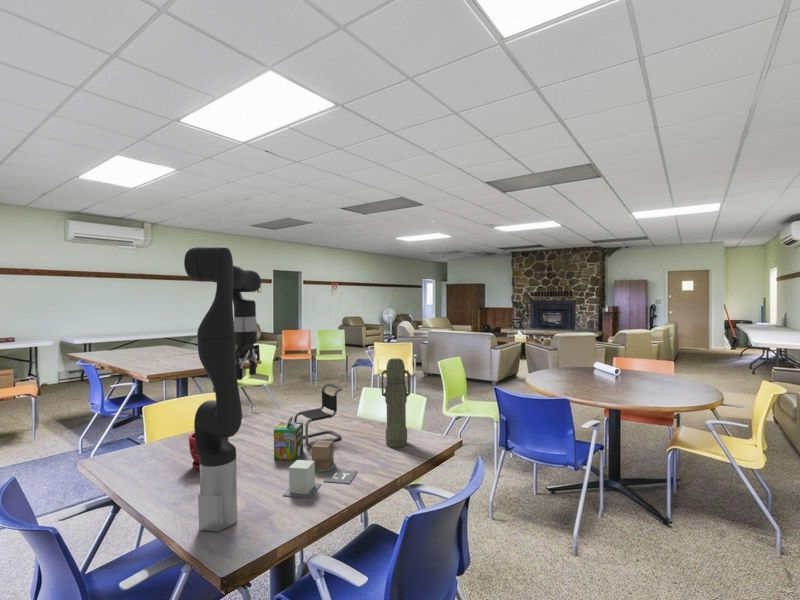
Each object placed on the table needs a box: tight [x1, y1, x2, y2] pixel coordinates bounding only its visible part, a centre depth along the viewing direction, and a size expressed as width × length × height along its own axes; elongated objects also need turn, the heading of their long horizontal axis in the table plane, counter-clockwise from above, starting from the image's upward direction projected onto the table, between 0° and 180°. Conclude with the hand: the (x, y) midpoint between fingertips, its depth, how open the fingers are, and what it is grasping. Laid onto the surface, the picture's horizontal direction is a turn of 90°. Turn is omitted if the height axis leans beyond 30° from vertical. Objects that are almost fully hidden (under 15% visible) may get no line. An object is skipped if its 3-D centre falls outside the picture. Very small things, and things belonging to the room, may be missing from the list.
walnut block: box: [310, 439, 335, 470], centre depth 149 cm, size 6×6×8 cm
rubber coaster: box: [315, 462, 337, 473], centre depth 150 cm, size 9×9×1 cm
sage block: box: [288, 459, 316, 494], centre depth 132 cm, size 6×6×8 cm
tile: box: [322, 469, 358, 485], centre depth 141 cm, size 9×9×1 cm
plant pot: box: [188, 432, 229, 471], centre depth 152 cm, size 13×13×12 cm
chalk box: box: [273, 415, 304, 461], centre depth 160 cm, size 9×9×15 cm
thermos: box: [380, 357, 411, 449], centre depth 171 cm, size 9×12×35 cm
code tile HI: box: [282, 482, 322, 499], centre depth 132 cm, size 9×9×1 cm
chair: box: [293, 383, 343, 448], centre depth 177 cm, size 13×17×22 cm
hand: (246, 377), depth 142 cm, fingers open, 8 cm apart
